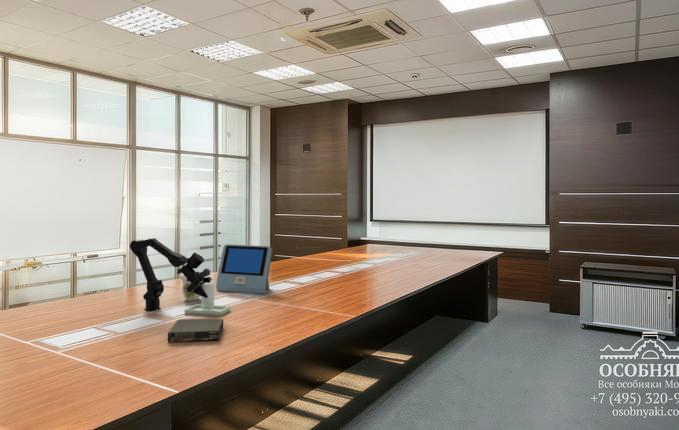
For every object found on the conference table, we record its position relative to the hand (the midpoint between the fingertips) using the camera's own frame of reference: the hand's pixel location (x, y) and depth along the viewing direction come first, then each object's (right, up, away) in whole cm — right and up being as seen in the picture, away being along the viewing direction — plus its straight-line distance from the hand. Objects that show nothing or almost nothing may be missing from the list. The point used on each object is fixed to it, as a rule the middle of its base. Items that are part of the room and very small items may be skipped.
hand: (210, 296), depth 243 cm
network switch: (+5, -11, -39) cm, 40 cm away
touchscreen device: (+7, -7, +60) cm, 61 cm away
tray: (-1, -9, +1) cm, 9 cm away
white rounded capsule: (-1, -7, 0) cm, 7 cm away
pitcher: (-19, -8, +31) cm, 37 cm away
